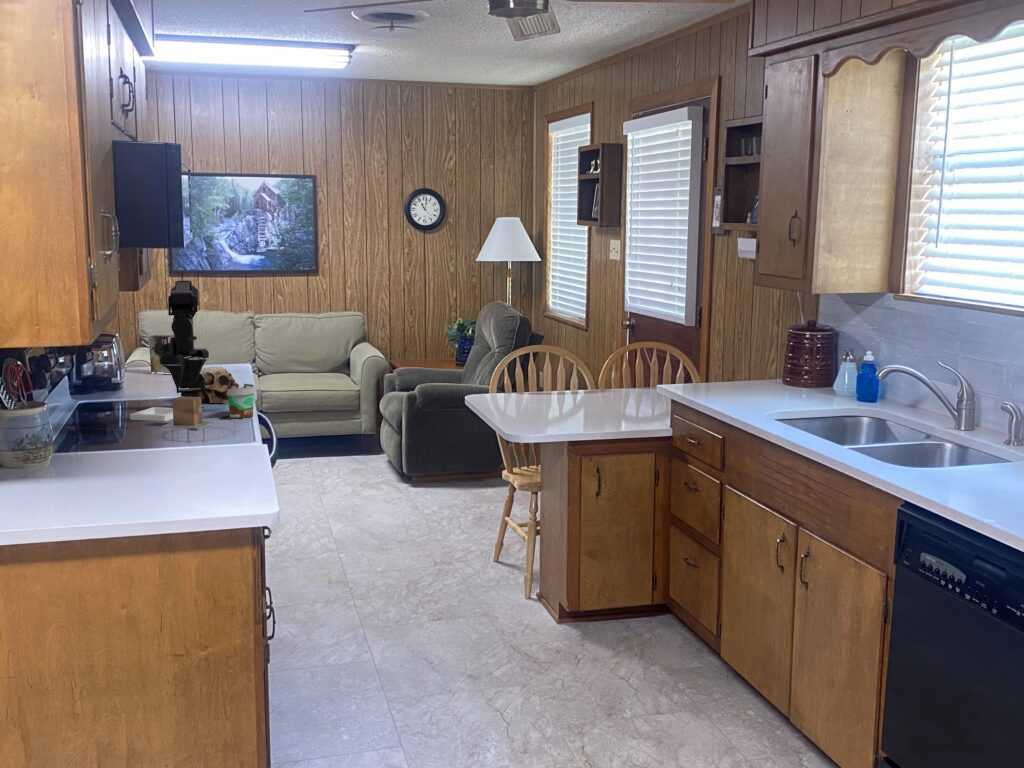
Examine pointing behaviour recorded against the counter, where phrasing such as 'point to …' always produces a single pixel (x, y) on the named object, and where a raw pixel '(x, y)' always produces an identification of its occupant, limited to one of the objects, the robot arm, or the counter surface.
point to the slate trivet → (196, 427)
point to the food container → (241, 401)
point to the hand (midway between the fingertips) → (186, 384)
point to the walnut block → (187, 411)
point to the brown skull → (216, 385)
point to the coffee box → (154, 357)
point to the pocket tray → (153, 414)
